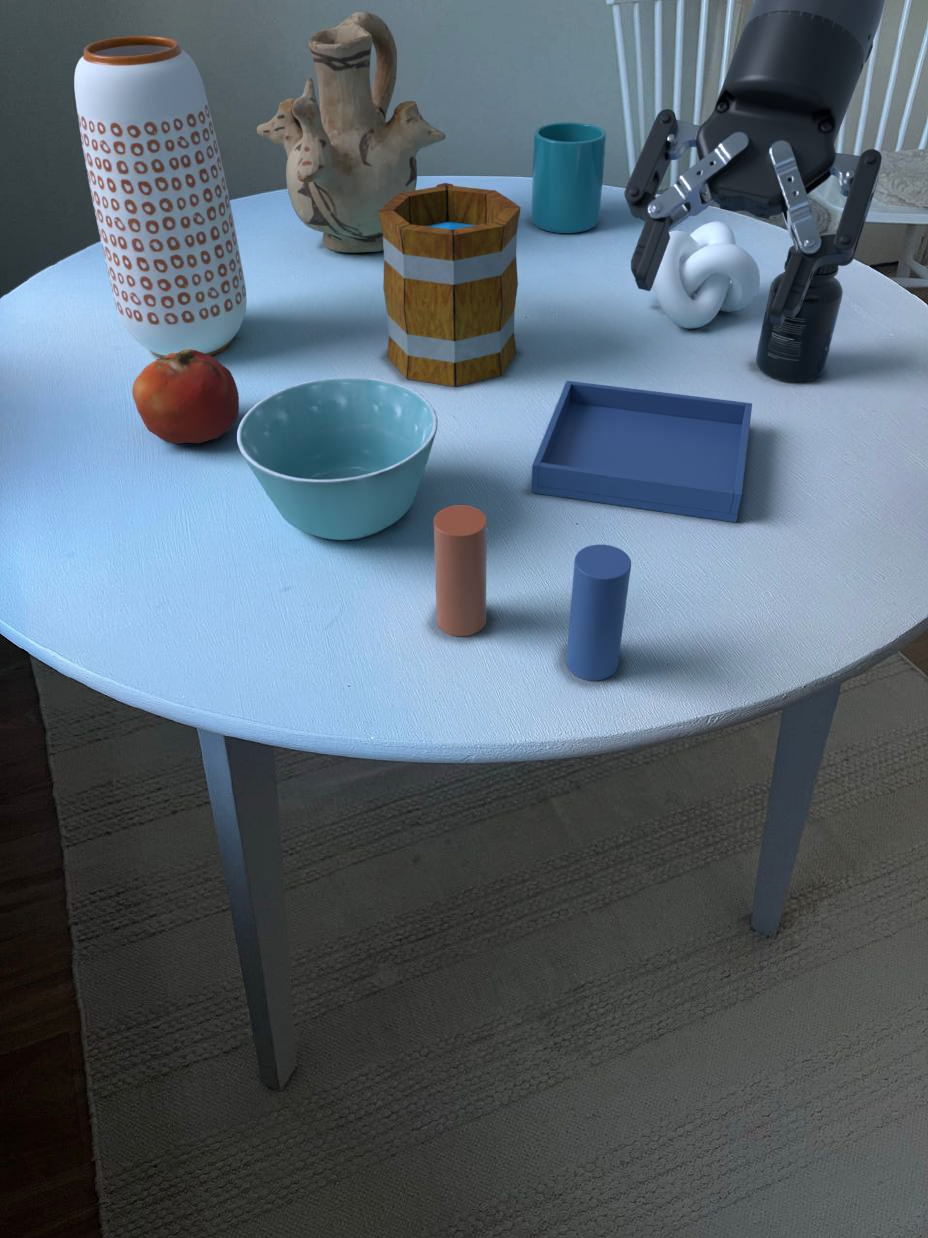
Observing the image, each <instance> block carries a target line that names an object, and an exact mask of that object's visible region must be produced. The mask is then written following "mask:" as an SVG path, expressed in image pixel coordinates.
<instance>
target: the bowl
mask: <svg viewBox="0 0 928 1238" xmlns="http://www.w3.org/2000/svg"><path fill="white" fill-rule="evenodd" d="M437 431H438V416H437V413H436V410H435V408H434V407H433V405H432V404H431V402H430V401H429V400H428V399H427V398H425V396H424V395H422V394H421V393H419V392H417V391H416V390H414V389H412V388H410V387H408V386H405V385H403V384H400V383H397V382H394V381H390V380H385V379H381V378H375V377H362V376H341V377H327V378H320V379H319V378H318V379H314V380H309V381H305V382H301V383H297V384H294V385H290V386H288V387H285V388H283V389H280V390H278V391H276V392H274V393H272V394H269V395H268V396H266V397H265V398H263V399H261V400H260V401H259V402H257V403H256V404H255V405H254V406H252V407H251V408H250V409H249V410H248V412H246V413H245V415H244V416H243V418H242V419H241V421H240V423H239V425H238V428H237V432H236V442H237V447H238V449H239V451H240V453H241V455H242V456H243V459H244V460H245V462H246V464H247V465H248V467H249V468H250V470H251V471H252V473H253V475H254V477H255V478H256V479H257V481H258V483H259V484H260V486H261V487H262V489H263V490H264V492H265V493H266V495H267V496H268V498H269V499H270V501H271V502H272V504H273V506H274V507H275V508H276V510H277V511H278V513H279V514H280V516H281V517H282V518H283V519H284V520H285V521H286V522H287V523H288V524H289V525H291V526H292V527H293V528H295V529H297V530H299V531H301V532H304V533H306V534H309V535H311V536H315V537H318V538H322V539H325V540H331V541H349V540H351V541H352V540H359V539H362V538H366V537H370V536H372V535H375V534H377V533H380V532H381V531H383V530H385V529H386V528H388V527H390V526H392V525H394V523H396V522H397V521H399V520H400V519H401V518H402V517H403V516H404V515H405V514H406V513H407V512H408V511H409V509H410V508H411V506H412V504H413V502H414V500H415V496H416V495H417V491H418V488H419V486H420V483H421V480H422V478H423V475H424V472H425V469H426V466H427V463H428V461H429V458H430V454H431V452H432V449H433V445H434V441H435V438H436V434H437Z"/></svg>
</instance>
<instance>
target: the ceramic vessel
mask: <svg viewBox="0 0 928 1238" xmlns="http://www.w3.org/2000/svg"><path fill="white" fill-rule="evenodd" d="M308 47H309V50H310V54H311V57H312V60H313V64H314V69H315V74H316V80H317V85H318V94H319V96H318V97H319V103H318V100H317V97H316V92H315V84H314V80H313V78H312V77H308V78H307V80H306V82H305V86H304V90H303V93H302V95H301V96H299V97H298V98H296V99H295V98H294V97H293V98H292V97H290V98H289V97H288V98H287V99H285V100H282V101H281V102H280V103H279V106H278V110H277V112H276V114H275V115H274V116H273V117H272V118H271V119H270V120H269V121H267V122H264V123H261V124H259V125H257V126H256V132H257V134H258V135H259V136H260V137H262V138H263V139H266V140H268V141H270V142H272V143H273V144H275V145H276V146H277V147H281V148H283V149H284V150H285V154H286V157H287V161H286V167H285V171H286V172H285V179H286V180H285V181H286V189H287V192H288V196H289V199H290V202H291V206H292V208H293V210H294V212H295V214H296V216H297V217H298V218H299V220H300V221H301V223H303V224H304V225H305V227H307V228H309V229H312V230H313V231H316V232H320V233H322V244H323V246H324V247H325V248H326V249H328V250H330V251H333V252H339V253H378V252H382V251H384V247H383V234H382V229H381V223H380V218H379V212H378V211H379V210H380V209H381V208H382V207H383V206H384V205H386V204H387V203H388V202H389V201H390V200H391V199H392V198H394V197H395V196H396V195H397V194H398V193H402V192H408V191H414V190H417V189H416V188H417V183H418V182H417V181H418V163H417V154H418V152H419V151H420V150H421V149H424V148H427V147H429V146H431V145H433V144H437V143H439V142H443V141H445V140H446V136H447V135H446V134H445V132H443V131H441V130H439V129H437V128H436V127H433V126H432V125H431V124H430V123H429V122H428V121H426V119H424V118H423V116H422V114H421V112H420V111H419V108H418V104H417V102H416V101H415V100H406V101H403V102H400V103H398V105H397V106H396V107H395V108H394V110H393V114H392V116H391V117H390V119H389V120H388V121H387V113H388V109H389V107H390V104H391V102H392V99H393V95H394V92H395V86H396V82H397V73H398V49H397V46H396V42H395V39H394V36H393V34H392V32H391V30H390V28H389V26H388V24H386V23H385V21H384V20H383V19H382V18H381V17H380V16H378V15H377V14H374V13H372V12H370V11H355V12H353V13H352V14H351V15H350V16H348V17H347V18H346V19H344V20H343V21H342V22H341V23H339V24H338V25H336V27H331V28H323V29H320V30H319V31H317V32H316V33H314V34H313V35H312V36H311V37H310V38H309V41H308ZM373 47H374V50H375V56H376V57H375V58H376V59H375V60H376V61H375V72H374V80H373V84H372V87H371V56H372V48H373Z"/></svg>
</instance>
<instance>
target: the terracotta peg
mask: <svg viewBox="0 0 928 1238" xmlns="http://www.w3.org/2000/svg"><path fill="white" fill-rule="evenodd" d="M433 545H434V574H435V575H434V577H435V578H434V579H435V605H436V607H435V608H436V609H435V610H436V624H437V626H438V627H439V629H440V630H441V631H442V632H444V633H445V634H448V635H450V636H454V637H469V636H473V635H475V634H477V633H478V632H480V631H481V630H482V629H484V628H485V625H486V622H487V566H488V565H487V564H488V563H487V562H488V561H487V560H488V558H487V557H488V553H487V552H488V518H487V515H486V514H485V513H484V511H482V510H481V509H479V508H477V507H475V506H472V505H467V504H454V505H450V506H445V507H444V508H442V509H440V510H439V511H438V512H437V513H435V515H434V518H433Z"/></svg>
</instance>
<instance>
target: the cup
mask: <svg viewBox="0 0 928 1238" xmlns="http://www.w3.org/2000/svg"><path fill="white" fill-rule="evenodd" d="M606 146H607V132H606V130H604V129H603V128H602V127H600V126H598V125H594V124H590V123H585V122H573V121H564V122H553V123H548V124H543V125H541V126H539V127H537V128H536V129H535V130H534V133H533V154H532V155H533V156H532V181H531V182H532V184H531V206H530V207H531V208H530V209H531V210H530V211H531V212H530V218H531V221H532V223H533V224H534V225H535V226H536V227H537V228H539V229H541V230H542V231H545V232H549V233H550V232H551V233H556V234H578V233H583V232H587V231H589V230H592V229H593V228H595V227H596V226H597V225H598V223H599V222H600V217H601V206H602V194H603V183H604V171H605V170H604V169H605V157H606Z"/></svg>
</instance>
